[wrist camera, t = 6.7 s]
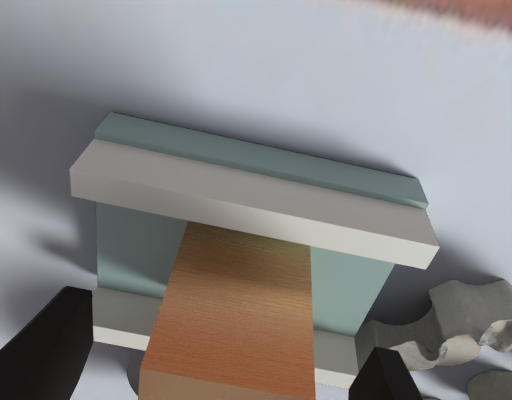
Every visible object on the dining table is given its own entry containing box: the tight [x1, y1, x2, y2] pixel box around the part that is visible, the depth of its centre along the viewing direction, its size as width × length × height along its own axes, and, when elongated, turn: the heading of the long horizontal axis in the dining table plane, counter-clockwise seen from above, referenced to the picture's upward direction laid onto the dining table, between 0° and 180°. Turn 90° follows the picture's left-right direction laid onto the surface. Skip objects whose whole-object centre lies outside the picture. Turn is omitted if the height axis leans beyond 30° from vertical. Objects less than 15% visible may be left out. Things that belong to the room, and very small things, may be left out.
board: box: [69, 112, 440, 389], centre depth 13 cm, size 7×9×3 cm
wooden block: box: [138, 221, 316, 400], centre depth 12 cm, size 4×4×5 cm
